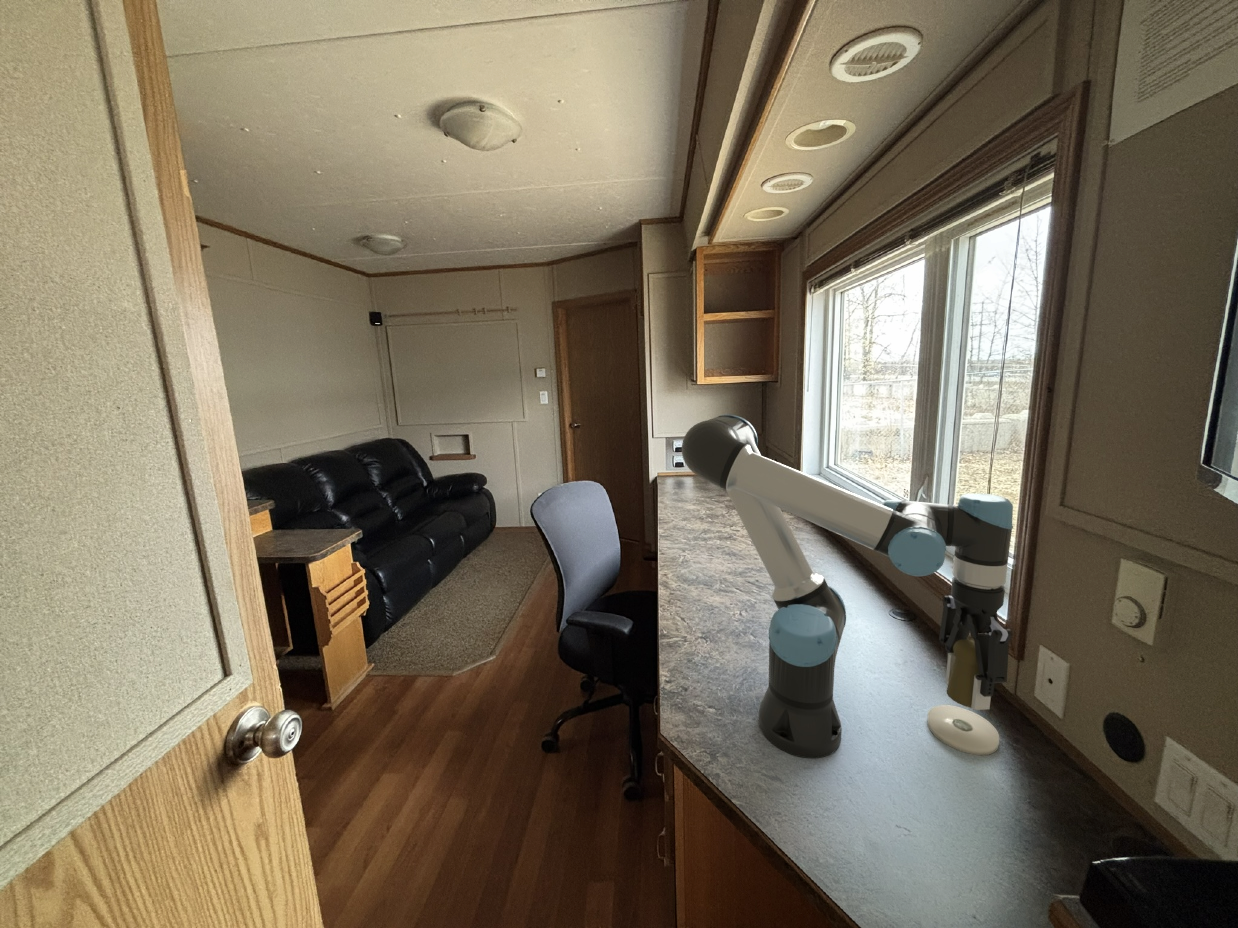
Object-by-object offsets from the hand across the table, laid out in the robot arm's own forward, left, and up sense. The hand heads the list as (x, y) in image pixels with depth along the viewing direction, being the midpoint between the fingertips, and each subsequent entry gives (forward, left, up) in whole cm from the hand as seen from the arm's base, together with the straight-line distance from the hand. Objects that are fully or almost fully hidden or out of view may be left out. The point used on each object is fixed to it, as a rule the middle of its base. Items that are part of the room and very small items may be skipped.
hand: (966, 695), depth 88 cm
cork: (0, 0, 0) cm, 0 cm away
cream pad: (0, 0, -8) cm, 8 cm away
